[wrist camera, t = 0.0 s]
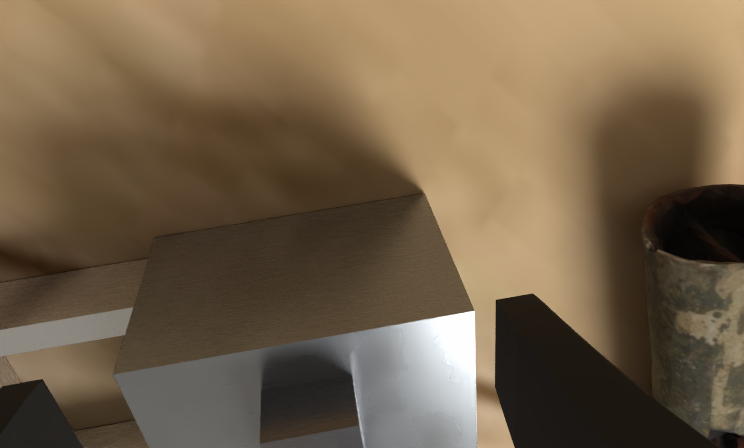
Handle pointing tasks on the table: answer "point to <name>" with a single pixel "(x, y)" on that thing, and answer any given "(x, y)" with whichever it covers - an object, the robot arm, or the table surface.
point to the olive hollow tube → (698, 307)
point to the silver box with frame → (273, 333)
